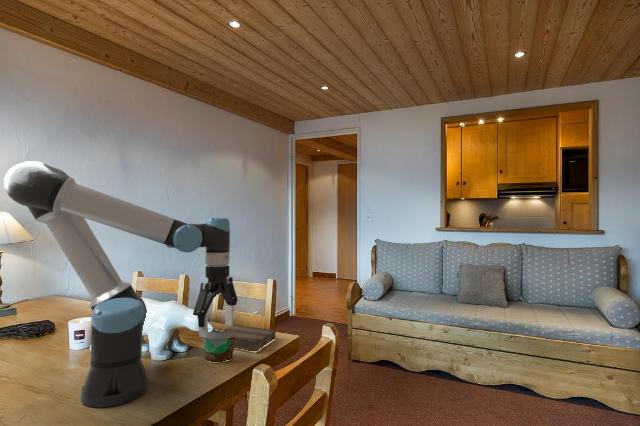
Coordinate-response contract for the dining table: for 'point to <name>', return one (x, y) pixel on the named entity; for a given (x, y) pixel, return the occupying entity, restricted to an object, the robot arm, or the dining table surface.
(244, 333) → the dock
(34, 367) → the dining table surface
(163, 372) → the dining table surface
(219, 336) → the food container
